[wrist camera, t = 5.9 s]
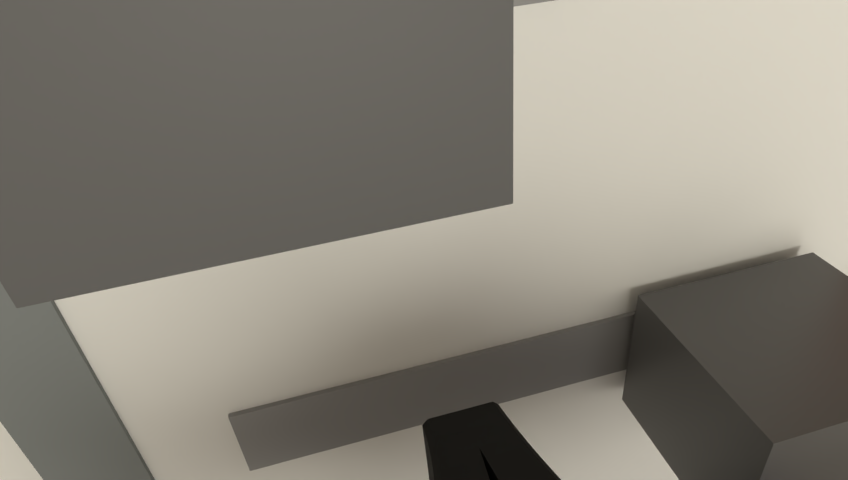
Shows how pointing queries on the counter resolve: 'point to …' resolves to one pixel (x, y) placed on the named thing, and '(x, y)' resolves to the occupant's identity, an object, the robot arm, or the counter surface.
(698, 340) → the block
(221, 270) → the breaker panel
